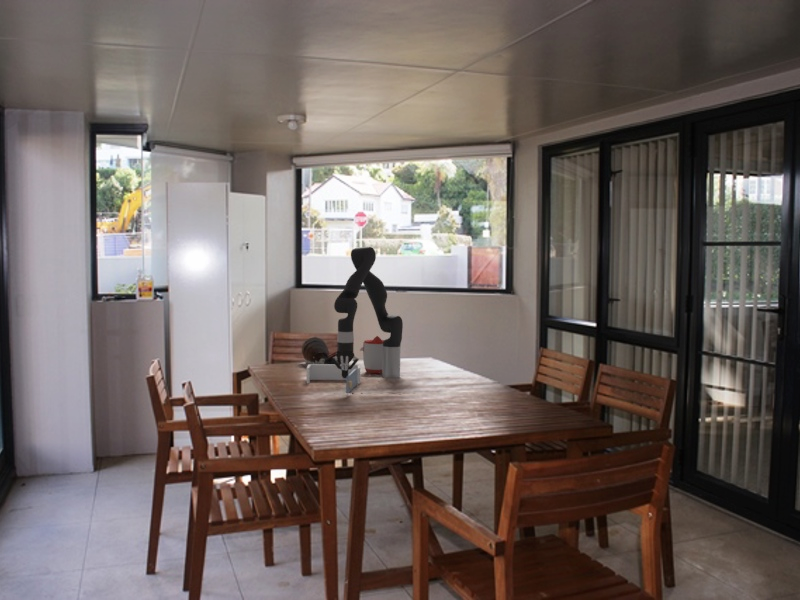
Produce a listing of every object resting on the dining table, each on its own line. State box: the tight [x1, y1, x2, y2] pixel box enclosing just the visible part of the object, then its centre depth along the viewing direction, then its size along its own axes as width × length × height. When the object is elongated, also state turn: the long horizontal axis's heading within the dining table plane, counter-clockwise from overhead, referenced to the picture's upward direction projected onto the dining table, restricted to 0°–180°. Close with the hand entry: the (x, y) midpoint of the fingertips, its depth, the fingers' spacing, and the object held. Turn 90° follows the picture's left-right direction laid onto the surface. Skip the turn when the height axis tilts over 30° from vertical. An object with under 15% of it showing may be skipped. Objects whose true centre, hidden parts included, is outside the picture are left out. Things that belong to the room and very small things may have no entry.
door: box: [345, 369, 358, 394], centre depth 347 cm, size 2×23×8 cm, turn 174°
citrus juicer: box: [359, 335, 385, 374], centre depth 401 cm, size 16×17×20 cm
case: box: [306, 364, 361, 385], centre depth 364 cm, size 12×26×9 cm, turn 93°
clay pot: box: [301, 336, 330, 365], centre depth 419 cm, size 15×15×25 cm
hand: (345, 377), depth 342 cm, fingers closed
